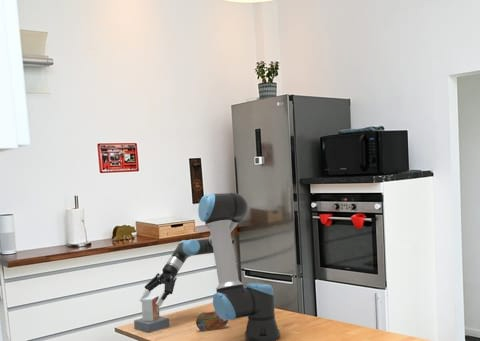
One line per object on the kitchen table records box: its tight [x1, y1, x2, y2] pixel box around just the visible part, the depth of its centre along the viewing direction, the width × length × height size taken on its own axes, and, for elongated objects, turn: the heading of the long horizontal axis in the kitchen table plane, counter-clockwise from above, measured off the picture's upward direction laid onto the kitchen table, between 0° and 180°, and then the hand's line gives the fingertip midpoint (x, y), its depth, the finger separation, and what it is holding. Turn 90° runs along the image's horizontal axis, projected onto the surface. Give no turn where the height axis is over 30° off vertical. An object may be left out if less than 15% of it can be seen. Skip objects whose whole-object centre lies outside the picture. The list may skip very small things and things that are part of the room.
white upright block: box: [141, 295, 160, 321], centre depth 234 cm, size 8×6×10 cm
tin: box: [195, 310, 229, 332], centre depth 225 cm, size 15×3×8 cm, turn 105°
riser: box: [133, 315, 170, 334], centre depth 233 cm, size 12×12×4 cm
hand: (149, 303), depth 233 cm, fingers open, 13 cm apart
